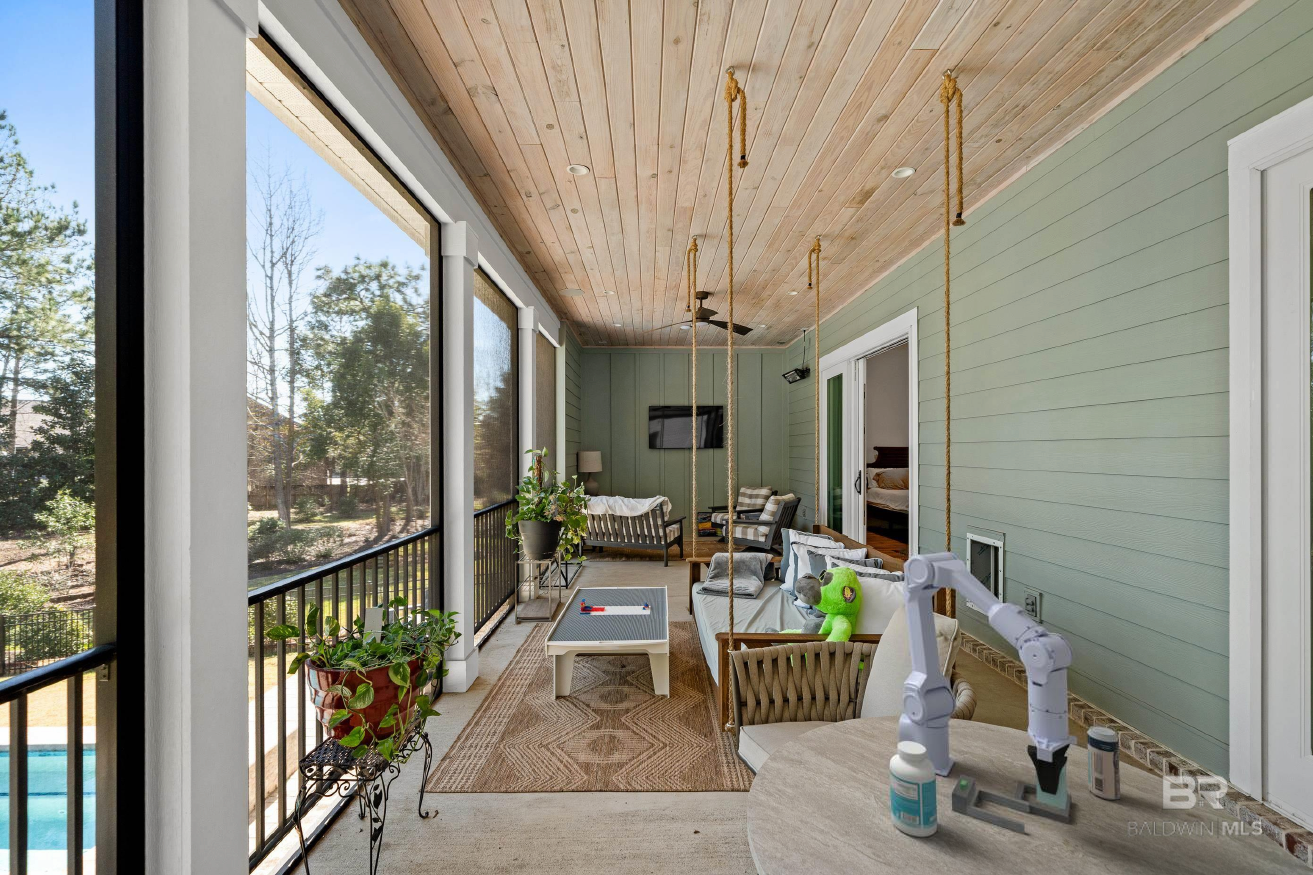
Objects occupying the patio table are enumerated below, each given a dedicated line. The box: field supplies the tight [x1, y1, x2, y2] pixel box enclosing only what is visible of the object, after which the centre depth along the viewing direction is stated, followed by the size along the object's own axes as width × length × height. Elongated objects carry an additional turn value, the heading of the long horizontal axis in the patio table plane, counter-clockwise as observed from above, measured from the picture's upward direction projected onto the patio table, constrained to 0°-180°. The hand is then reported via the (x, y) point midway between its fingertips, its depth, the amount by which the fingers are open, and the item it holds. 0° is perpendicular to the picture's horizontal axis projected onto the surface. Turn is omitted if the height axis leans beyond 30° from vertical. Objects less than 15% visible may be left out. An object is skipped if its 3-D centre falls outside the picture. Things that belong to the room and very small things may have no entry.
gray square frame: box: [1012, 779, 1072, 825], centre depth 109 cm, size 8×8×1 cm
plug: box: [1035, 763, 1068, 809], centre depth 102 cm, size 4×4×7 cm
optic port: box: [951, 773, 1031, 835], centre depth 107 cm, size 11×8×4 cm
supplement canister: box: [1086, 725, 1121, 801], centre depth 113 cm, size 5×5×12 cm
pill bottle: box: [889, 741, 938, 838], centre depth 103 cm, size 8×7×14 cm
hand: (1050, 786), depth 102 cm, fingers closed on plug, 4 cm apart
